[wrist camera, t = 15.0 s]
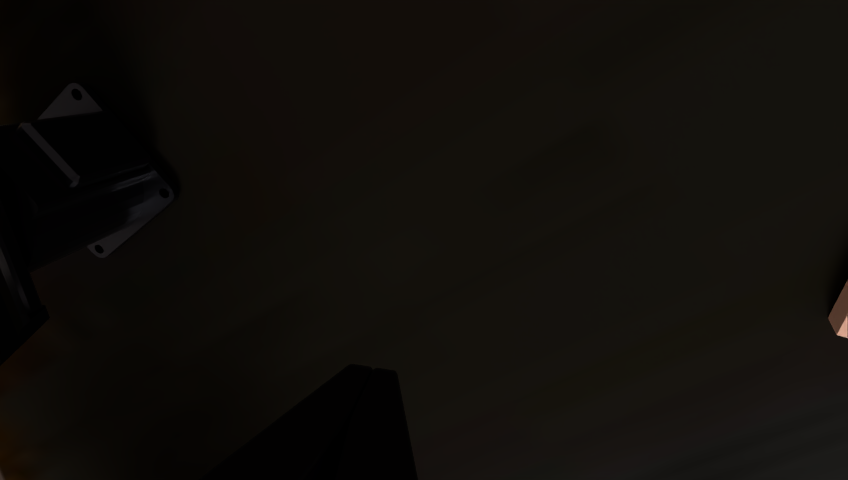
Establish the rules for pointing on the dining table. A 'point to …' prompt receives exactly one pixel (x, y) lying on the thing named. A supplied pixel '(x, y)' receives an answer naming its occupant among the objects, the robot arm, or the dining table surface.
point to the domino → (840, 313)
